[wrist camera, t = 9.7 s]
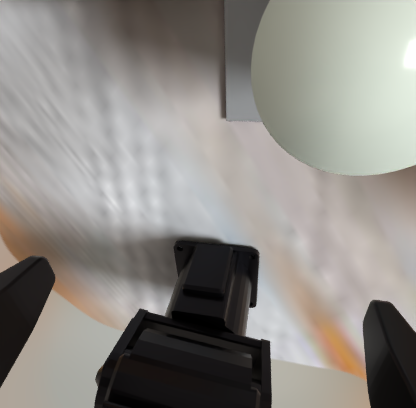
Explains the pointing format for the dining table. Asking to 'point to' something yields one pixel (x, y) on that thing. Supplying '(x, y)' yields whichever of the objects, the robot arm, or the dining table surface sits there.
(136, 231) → the dining table surface
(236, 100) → the slate mat
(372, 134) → the cylinder with square knob
